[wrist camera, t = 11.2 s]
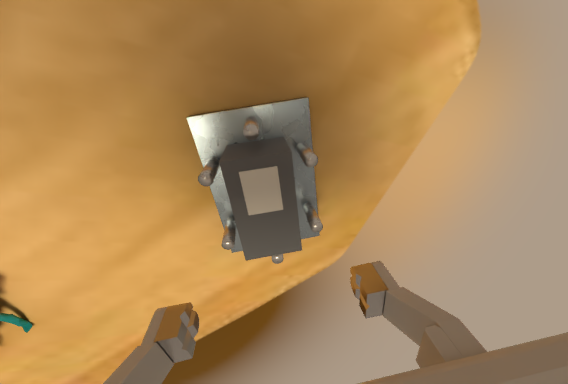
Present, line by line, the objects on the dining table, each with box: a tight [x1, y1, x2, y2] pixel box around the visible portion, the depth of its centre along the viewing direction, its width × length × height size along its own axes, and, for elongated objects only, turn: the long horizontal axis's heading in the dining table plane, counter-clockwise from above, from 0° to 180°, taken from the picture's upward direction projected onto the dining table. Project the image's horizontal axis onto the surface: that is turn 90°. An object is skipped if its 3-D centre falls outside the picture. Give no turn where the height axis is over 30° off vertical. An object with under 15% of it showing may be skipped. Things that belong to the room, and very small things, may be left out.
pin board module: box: [187, 97, 323, 264], centre depth 22 cm, size 16×11×5 cm
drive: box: [219, 137, 302, 260], centre depth 21 cm, size 10×6×5 cm, turn 7°
